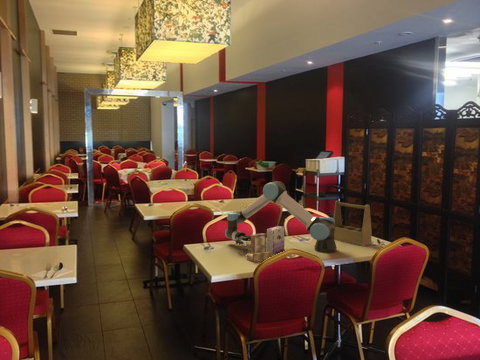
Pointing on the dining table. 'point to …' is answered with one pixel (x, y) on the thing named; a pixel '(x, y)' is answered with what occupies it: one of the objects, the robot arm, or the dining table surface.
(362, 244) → the caddy
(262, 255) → the ledge
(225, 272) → the dining table surface
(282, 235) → the candy box
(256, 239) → the wooden block
